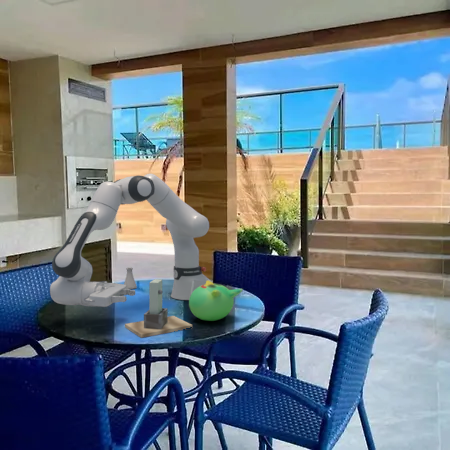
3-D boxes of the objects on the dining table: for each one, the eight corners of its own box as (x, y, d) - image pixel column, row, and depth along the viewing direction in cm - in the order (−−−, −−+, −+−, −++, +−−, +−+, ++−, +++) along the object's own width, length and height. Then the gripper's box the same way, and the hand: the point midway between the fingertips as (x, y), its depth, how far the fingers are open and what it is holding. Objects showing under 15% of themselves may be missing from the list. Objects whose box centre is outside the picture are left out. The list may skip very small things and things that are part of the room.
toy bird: (211, 311, 194) (211, 275, 192) (244, 319, 183) (244, 281, 182) (180, 320, 180) (180, 282, 178) (213, 329, 169) (214, 289, 168)
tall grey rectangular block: (154, 322, 173) (154, 279, 172) (165, 322, 172) (166, 279, 171) (149, 327, 167) (149, 282, 166) (161, 327, 166) (161, 283, 165)
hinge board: (173, 318, 182) (173, 302, 181) (192, 328, 170) (192, 311, 170) (124, 327, 170) (124, 310, 170) (141, 337, 159) (141, 319, 158)
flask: (133, 290, 229) (133, 269, 228) (119, 289, 230) (119, 269, 229) (139, 286, 236) (139, 267, 235) (125, 286, 237) (125, 266, 237)
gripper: (81, 291, 161) (120, 293, 160) (104, 280, 182) (139, 281, 180) (81, 309, 162) (120, 312, 160) (104, 296, 182) (139, 298, 180)
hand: (130, 295), depth 170 cm, fingers open, 8 cm apart
